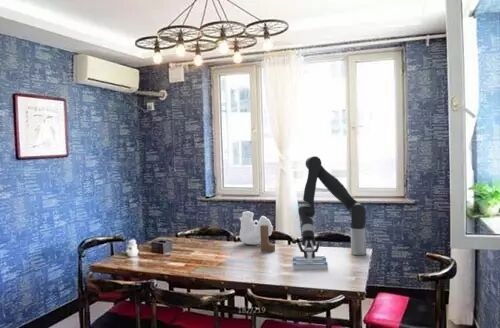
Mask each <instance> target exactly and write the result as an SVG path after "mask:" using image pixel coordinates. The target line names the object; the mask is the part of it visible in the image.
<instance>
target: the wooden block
mask: <svg viewBox="0 0 500 328" xmlns="http://www.w3.org/2000/svg"><path fill="white" fill-rule="evenodd" d="M260 234H261V242H260V252H263V251H264V252H266V253H274V252H275V251H276V245H275V243H272V242H270V240H269V239H270V238H269V237H270V236H269V234H268V225H261V226H260Z"/></svg>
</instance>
